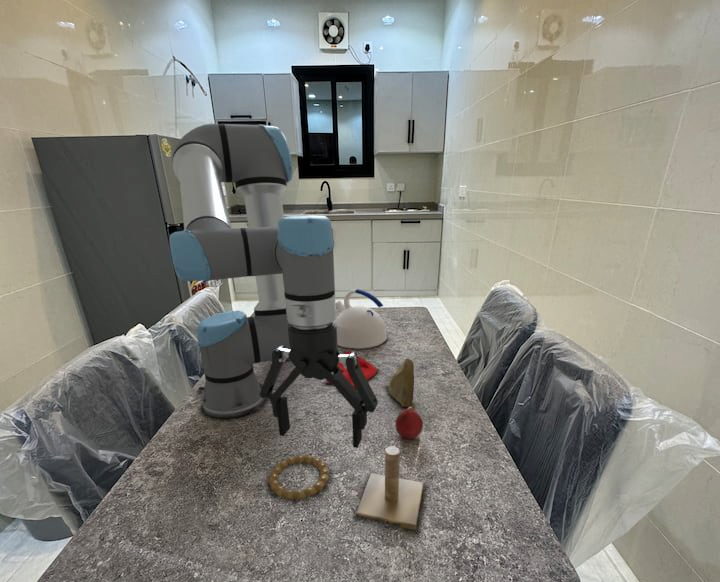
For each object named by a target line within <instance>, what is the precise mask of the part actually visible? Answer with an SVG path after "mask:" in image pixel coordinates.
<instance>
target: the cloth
mask: <svg viewBox="0 0 720 582" xmlns="http://www.w3.org/2000/svg"><path fill="white" fill-rule="evenodd" d="M351 352H352V350H348V351H345V352H344V354H350V353H351ZM358 362H359V366H360V368H361V370H362V372H363V373H364V375H365V377H366V379H367V381H368V380H369V379H370V378H372V377H373V376H375V374H376V373H377V372H378V369H377V367H375V366H374V365H373V364H372V363H370V362H368V361H367V360H365V359H364V358H363V357H360V356H358ZM337 366H338V367H339V368H340V369H341V370H342V372H343V375H344V376H345V377H346V378H347V380H348V381H349V382H350V383H351V384H352V386H353V387H354V388H355V389H356V387H355V386H354V384H353V382H352V380H351V378H350V376H349V374H348V371H347V369H345V368H344V366H343V364H342V363H338V365H337ZM326 384H330V383H329V382H328V381H327V380H326Z"/></svg>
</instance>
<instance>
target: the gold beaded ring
mask: <svg viewBox="0 0 720 582" xmlns="http://www.w3.org/2000/svg"><path fill="white" fill-rule="evenodd" d="M302 463H304V464H311V465H312V466H315V467H316V468H317V469H318V471H319V473H320V475H319V476H320V477H319V478H318V480H317V482H315V483H314V484H313V485H311V486H310V487H307V488H304V489H298V490H292V489H287V488H284V487H283V486H282V485H280V483H279V476H280V474H281V473H282V471H283V470H285V469H286V468H288V467H289V466H291V465H292V466H293V465H295V464H302ZM329 471H330V470H329V467H328V466H327V465H326V463H325V462H324V461H323V460H321V459H319V458H317V457H315V456H311V455H305V454H304V455H296V456H291V457H288V458H286V459H285V458H284V459H283V460H282V461H280V462H279V463H277V464H276V465H275V466H274V467H273V469H272V470H271V472H270V473H269V478H268V479H269V480H268V485H269V487H270V490H271V491H272V492H273V493H274V494H276V496H279V497H280V498H284V499H289V500H298V499H299V500H300V499H307V498H308V497H311V496H313V495H316V494H318V493H319V492H320V491H321V490H323V489H324V488H325V487H326V486H327V483H328V482H329V479H330V472H329Z"/></svg>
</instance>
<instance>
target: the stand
mask: <svg viewBox="0 0 720 582" xmlns="http://www.w3.org/2000/svg"><path fill="white" fill-rule="evenodd" d="M384 454H385V455H384V474H379V473H373V472H370V475H369V476H368V480H367V482H366V485H365V488H364V491H363V493H362V495H361V498H360V502H359V505H358V507H357V509H356V511H355V512H356V513H355V515H356V516H360V517H366V518H370V519H374V520H379V521H385V522H389V523H394V524H398V525H400V528H402V529H408V530H411V531H416V530H417V525H418V519H419V513H420V507H421V503H422V496H423V492H424V491H423V490H424V482H423V481H418V480H411V479H406V478H401V477H400V458H401V450H400V448H399V447H398V446H395V445H390V446H387V447H386V448H385V450H384Z"/></svg>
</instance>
